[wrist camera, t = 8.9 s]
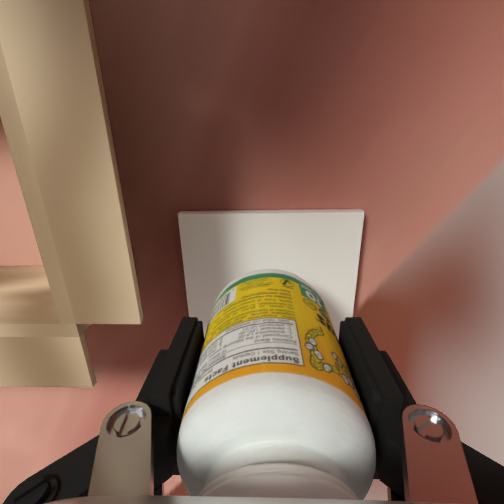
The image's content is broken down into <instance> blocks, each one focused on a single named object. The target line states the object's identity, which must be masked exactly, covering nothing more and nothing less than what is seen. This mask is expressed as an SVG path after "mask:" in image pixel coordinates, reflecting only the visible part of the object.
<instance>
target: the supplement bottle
mask: <svg viewBox="0 0 504 504" xmlns="http://www.w3.org/2000/svg"><path fill="white" fill-rule="evenodd" d="M177 464H178V469H179V473H180V476H181V479H182V482H183V484H184V486H185V488H186V490H187V491H188V493H189V495H190V496H215V497H263V498H306V499H344V500H363V499H364V498H365V496H366V494H367V492H368V491H369V488H370V486H371V484H372V481H373V477H374V473H375V468H376V448H375V441H374V437H373V434H372V430H371V427H370V424H369V421H368V419H367V416H366V413H365V411H364V408H363V405H362V402H361V399H360V397H359V394H358V392H357V389H356V387H355V384H354V381H353V379H352V376H351V373H350V371H349V368H348V366H347V363H346V360H345V358H344V354H343V352H342V349H341V347H340V345H339V341H338V338H337V336H336V333H335V330H334V328H333V325H332V322H331V320H330V317H329V314H328V311H327V309H326V307H325V304H324V302H323V300H322V298H321V297H320V295H319V294H318V293H317V291H316V290H315V289H314V288H313V287H312V286H311V285H309V284H308V283H307V282H306V281H305V280H303V279H302V278H300V277H299V276H297V275H295V274H293V273H290V272H287V271H284V270H280V269H261V270H256V271H252V272H248V273H245V274H243V275H241V276H239V277H237V278H236V279H234V280H233V281H231V282H230V283H229V284H228V285H227V286H226V287H225V288H224V289H223V290H222V292H221V293H220V294H219V296H218V298H217V300H216V302H215V304H214V307H213V310H212V313H211V316H210V319H209V323H208V326H207V330H206V334H205V338H204V342H203V346H202V349H201V353H200V357H199V360H198V364H197V367H196V370H195V374H194V378H193V381H192V385H191V389H190V392H189V396H188V400H187V403H186V407H185V411H184V414H183V418H182V422H181V426H180V430H179V435H178V440H177Z"/></svg>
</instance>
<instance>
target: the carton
mask: <svg viewBox="0 0 504 504" xmlns="http://www.w3.org/2000/svg"><path fill="white" fill-rule="evenodd" d="M0 117H1V121H2V124H3V128H4V131H5V134H6V138H7V141H8V145H9V148H10V152H11V155H12V159H13V162H14V165H15V169H16V172H17V176H18V179H19V183H20V186H21V190H22V193H23V197H24V200H25V203H26V207H27V210H28V214H29V217H30V221H31V224H32V228H33V231H34V234H35V238H36V241H37V245H38V248H39V252H40V255H41V259H42V262H43V265H44V266H0V386H14V387H91V388H93V387H94V385H95V384H96V382H97V381H96V377H95V374H94V370H93V366H92V362H91V358H90V354H89V351H88V347H87V343H86V339H85V335H84V332H85V331H86V329H87V328H88V327H89V326H90V325H91V324H141V323H142V322H143V320H144V317H143V311H142V305H141V300H140V294H139V288H138V282H137V277H136V271H135V265H134V259H133V254H132V248H131V242H130V236H129V230H128V225H127V219H126V213H125V207H124V202H123V196H122V190H121V184H120V179H119V173H118V167H117V161H116V155H115V150H114V144H113V138H112V132H111V127H110V121H109V115H108V109H107V103H106V98H105V92H104V86H103V80H102V75H101V69H100V63H99V57H98V52H97V46H96V40H95V34H94V28H93V23H92V17H91V11H90V5H89V0H0Z"/></svg>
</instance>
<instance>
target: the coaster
mask: <svg viewBox="0 0 504 504" xmlns="http://www.w3.org/2000/svg"><path fill="white" fill-rule="evenodd" d="M178 221H179V230H180V239H181V248H182V257H183V266H184V276H185V285H186V294H187V303H188V312H189V317H197V318H198V321H202V322H203V332H204V338H205V334H206V330H207V326H208V323H209V319H210V316H211V313H212V310H213V307H214V304H215V302H216V300H217V298H218V296H219V294H220V293H221V292H222V290H223V289H224V288H225V287H226V286H227V285H228V284H229V283H230V282H231V281H233V280H234V279H236V278H237V277H239V276H241V275H243V274H245V273H248V272H252V271H256V270H261V269H280V270H284V271H287V272H290V273H293V274H295V275H297V276H299V277H300V278H302V279H303V280H305V281H306V282H307V283H308V284H309V285H311V286H312V287H313V288H314V289H315V290H316V291H317V293H318V294H319V295H320V297H321V298H322V300H323V302H324V304H325V307H326V309H327V311H328V314H329V317H330V320H331V322H332V325H333V328H334V330H335V333H336V336H337V338H338V340H339V329H340V322H341V321H345V318H346V317H353V309H354V300H355V291H356V282H357V274H358V265H359V256H360V247H361V238H362V229H363V221H364V211H363V210H361V209H323V210H240V211H181V212H179V213H178Z"/></svg>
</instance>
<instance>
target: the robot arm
mask: <svg viewBox="0 0 504 504" xmlns="http://www.w3.org/2000/svg"><path fill="white" fill-rule="evenodd" d="M338 341H339V345H340V347H341V349H342V352H343V354H344V358H345V360H346V363H347V366H348V368H349V371H350V373H351V376H352V379H353V381H354V384H355V387H356V389H357V392H358V394H359V397H360V399H361V402H362V405H363V408H364V411H365V413H366V416H367V419H368V421H369V424H370V427H371V430H372V434H373V437H374V441H375V448H376V468H375V473H374V477H373V479H380V481H381V482H383V483H384V484H385V485H386V486H388V488H387V489H388V501H377V500H344V499H306V498H263V497H215V496H165V494H164V482H165V481H167V480H168V479H169V478H170V477H171V476H172V475H180V473H179V469H178V464H177V440H178V435H179V430H180V426H181V422H182V418H183V414H184V411H185V407H186V403H187V400H188V396H189V392H190V389H191V385H192V381H193V378H194V374H195V370H196V367H197V364H198V360H199V357H200V353H201V349H202V346H203V342H204V332H203V322H202V321H198V318H197V317H183V318H182V321H181V323H180V325H179V327H178V330H177V332H176V334H175V336H174V339H173V341H172V343H171V346H170V348H169V350H161V351H160V352H159V353H158V355H157V357H156V359H155V362H154V364H153V366H152V368H151V370H150V372H149V374H148V376H147V378H146V380H145V382H144V384H143V386H142V389H141V391H140V393H139V395H138V397H137V399H136V401H132V402H127V403H124V404H121V405H119V406H118V407H116V408H114V409H113V410H112V411H111V412H109V413H108V414H107V416H106V417H105V418H104V420H103V422H102V425H101V428H100V434H99V435H98V436H96V437H95V438H93V439H91V440H90V441H88V442H87V443H85V444H83V445H82V446H80V447H78V448H77V449H75V450H73V451H72V452H70V453H68V454H67V455H65V456H63V457H62V458H60V459H59V460H57V461H55V462H54V463H52V464H50V465H49V466H47V467H45V468H44V469H42V470H40V471H39V472H37V473H36V474H34V475H32V476H31V477H29V478H27V479H26V480H25V481H23V482H22V483H21V484H19V485H18V486H17V487H16V488H15V489H14V490H13V491H12V492H11V493H10V494H9V496H8V497H7V498H6V500H5V501H4V503H3V504H504V466H502V465H500V464H498V463H497V462H495V461H493V460H491V459H490V458H488V457H486V456H485V455H483V454H481V453H479V452H478V451H476V450H474V449H473V448H471V447H469V446H467V445H466V444H464V443H462V442H461V441H460V437H459V433H458V431H457V429H456V427H455V425H454V424H453V422H452V421H451V420H450V419H449V418H448V417H447V416H446V415H444V414H443V413H442V412H440V411H438V410H436V409H435V408H432V407H429V406H426V405H419V404H416V402H415V400H414V399H413V397H412V395H411V393H410V392H409V390H408V388H407V386H406V385H405V383H404V381H403V380H402V378H401V376H400V374H399V372H398V371H397V369H396V367H395V366H394V364H393V362H392V360H391V359H390V357H389V355H388V354H387V352H385V351H379V350H378V348H377V346H376V345H375V343H374V341H373V339H372V337H371V335H370V333H369V332H368V330H367V328H366V326H365V324H364V322H363V320H362V319H361V318H360V317H346V318H345V321H341V322H340V329H339V340H338Z"/></svg>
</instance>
